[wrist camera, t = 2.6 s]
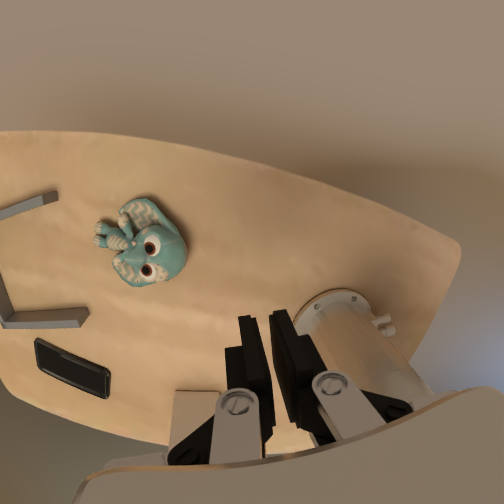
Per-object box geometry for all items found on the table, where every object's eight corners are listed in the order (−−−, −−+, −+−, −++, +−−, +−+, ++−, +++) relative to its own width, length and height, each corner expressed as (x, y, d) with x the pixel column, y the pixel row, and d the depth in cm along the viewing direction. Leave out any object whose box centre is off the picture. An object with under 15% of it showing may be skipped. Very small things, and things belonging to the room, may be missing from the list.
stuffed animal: (79, 190, 23) (184, 218, 23) (114, 186, 30) (203, 209, 30) (72, 285, 26) (165, 322, 26) (103, 266, 33) (184, 294, 33)
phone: (108, 400, 37) (37, 369, 34) (109, 396, 38) (40, 365, 35) (109, 372, 35) (33, 337, 32) (111, 367, 36) (36, 334, 33)
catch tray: (56, 191, 27) (41, 195, 24) (89, 314, 32) (80, 327, 29) (-18, 219, 26) (-31, 224, 22) (13, 318, 31) (3, 328, 28)
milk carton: (180, 415, 40) (176, 508, 22) (174, 389, 38) (165, 493, 20) (220, 415, 41) (228, 509, 23) (219, 390, 39) (226, 495, 21)
